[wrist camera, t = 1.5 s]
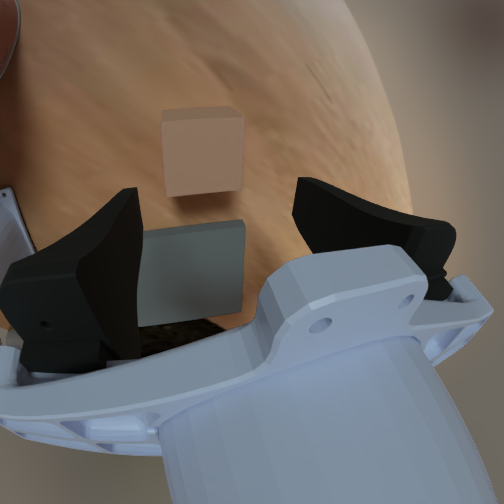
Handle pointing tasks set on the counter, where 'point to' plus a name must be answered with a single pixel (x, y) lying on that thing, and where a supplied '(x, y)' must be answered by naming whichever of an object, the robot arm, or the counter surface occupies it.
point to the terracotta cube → (202, 150)
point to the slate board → (191, 272)
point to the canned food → (8, 31)
